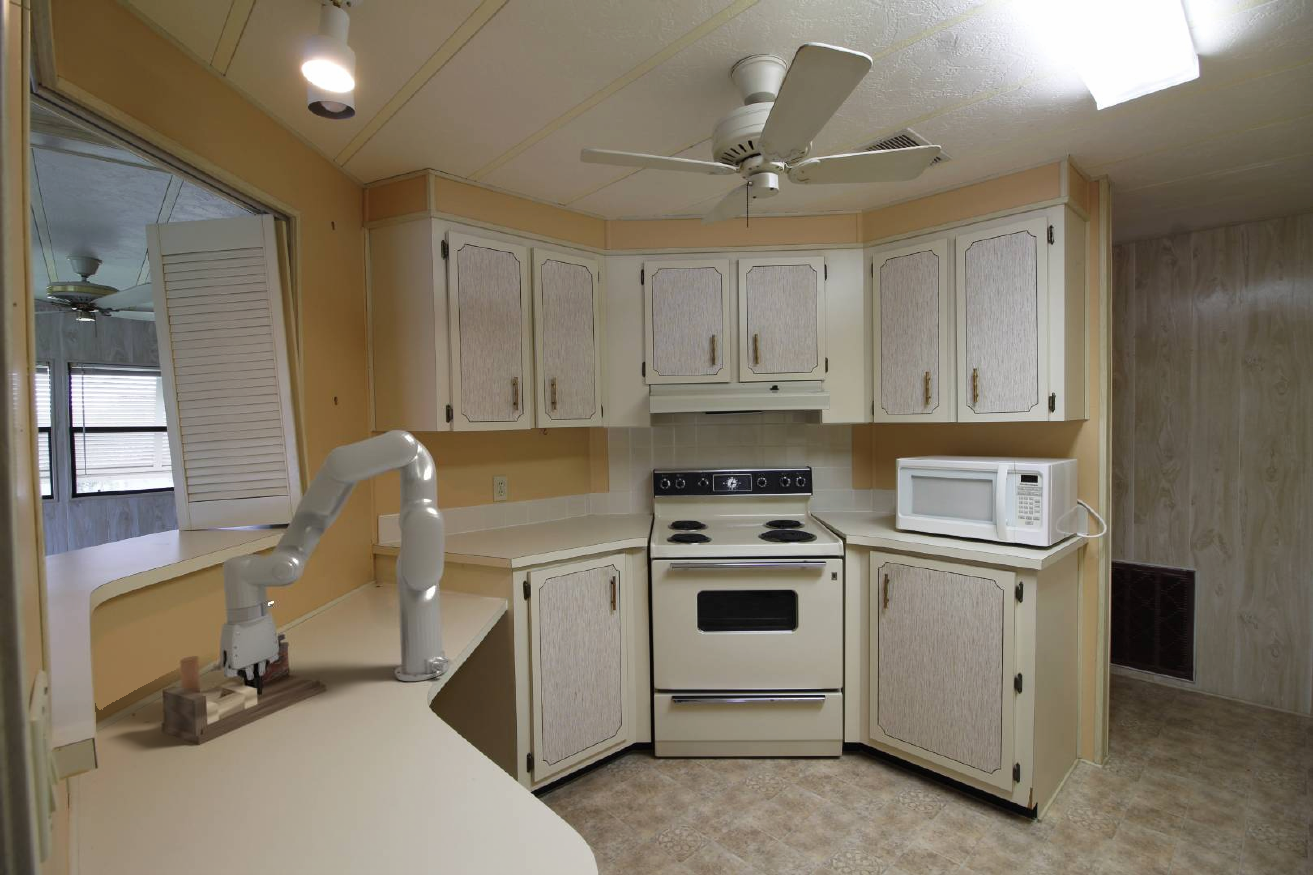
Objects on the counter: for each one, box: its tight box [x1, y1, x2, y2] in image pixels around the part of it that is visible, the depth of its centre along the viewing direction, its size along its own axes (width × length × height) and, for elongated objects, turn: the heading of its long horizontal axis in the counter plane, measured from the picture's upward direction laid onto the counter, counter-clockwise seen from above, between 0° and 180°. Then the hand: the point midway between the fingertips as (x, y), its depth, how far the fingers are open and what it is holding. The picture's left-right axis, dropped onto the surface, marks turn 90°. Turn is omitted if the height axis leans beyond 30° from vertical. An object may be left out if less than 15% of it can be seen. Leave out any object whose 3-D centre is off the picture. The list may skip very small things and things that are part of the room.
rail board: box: [161, 672, 327, 746], centre depth 131 cm, size 14×26×8 cm, turn 153°
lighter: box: [262, 633, 291, 681], centre depth 147 cm, size 8×3×10 cm, turn 168°
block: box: [197, 681, 258, 725], centre depth 125 cm, size 10×10×4 cm
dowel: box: [179, 655, 201, 693], centre depth 135 cm, size 3×3×10 cm
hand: (254, 694), depth 132 cm, fingers closed
